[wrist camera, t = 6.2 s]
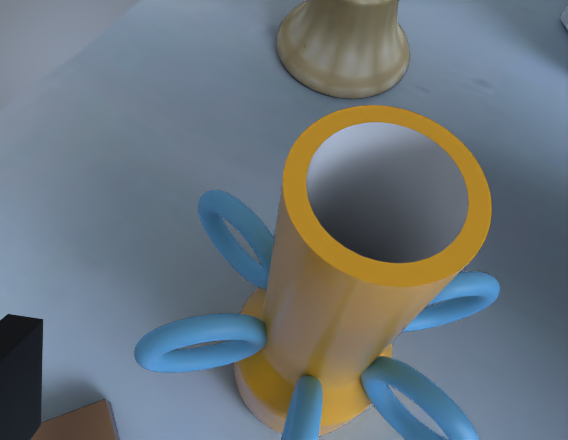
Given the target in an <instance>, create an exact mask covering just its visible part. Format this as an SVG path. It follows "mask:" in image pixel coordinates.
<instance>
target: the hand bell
mask: <svg viewBox="0 0 568 440" xmlns="http://www.w3.org/2000/svg"><path fill="white" fill-rule="evenodd" d="M398 1H399V0H307V1H305V2H303V3H301V4H300V5H298V6H297V7H295V8H294V9H293V10H292V11H291V12H290V13H289V14H288V15H287V16H286V17H285V19H284V20H283V21H282V23H281V25H280V27H279V29H278V32H277V38H276V44H277V51H278V54H279V57H280V59H281V61H282V63H283V64H284V66H285V67H286V69H287V70H288V71H289V72H290V74H291V75H292V76H294V77H295V78H296V79H297V80H298V81H299V82H301V83H302V84H304V85H305V86H307V87H309V88H311V89H313V90H315V91H317V92H320V93H323V94H326V95H329V96H333V97H338V98H349V99H355V98H356V99H359V98H366V97H371V96H375V95H377V94H380V93H383V92H385V91H387V90H389V89H390V88H392V87H393V86H394V85H396V84H397V83H398V82H399V81H400V80H401V78H402V77H403V76H404V74H405V72H406V70H407V67H408V64H409V59H410V52H409V45H408V41H407V38H406V35H405V33H404V31H403V29H402V28H401V26H400V25H399V24H398V22H397V9H398Z"/></svg>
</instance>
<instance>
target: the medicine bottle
mask: <svg viewBox="0 0 568 440" xmlns="http://www.w3.org/2000/svg"><path fill="white" fill-rule="evenodd" d="M560 18H561V21H562V22H563V24H564V26H565V27H566V29H567V31H568V6H567V7H566V8H565V10H564V11H563V13H562V15H561V17H560Z"/></svg>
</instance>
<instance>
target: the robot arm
mask: <svg viewBox="0 0 568 440" xmlns="http://www.w3.org/2000/svg"><path fill="white" fill-rule="evenodd" d="M42 346H43V319H37V318H31V317H24V316H18V315H11V314H7V315H6V316H5V317H4V318H3V319H1V320H0V440H31V438H32V437H33V436H34V434H35V433H36V432H37V430H38V429H39V427H40V426H41V391H42Z"/></svg>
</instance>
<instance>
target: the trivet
mask: <svg viewBox="0 0 568 440" xmlns="http://www.w3.org/2000/svg"><path fill="white" fill-rule="evenodd" d="M31 440H120V439H119V435H118V431H117V427H116V422H115V418H114V414H113V410H112V406H111V403H110V402H109V401H107V400H106V399H103V400H100V401H98V402H95V403H92V404H90V405H87V406H84V407H82V408H79V409H76V410H74V411H71V412H68V413H66V414H63V415H60V416H58V417H55V418H52V419H50V420H47V421H44V422H42V423H41V426H40V427H39V429H38V430H37V432H36V433H35V434H34V436H33V437H32V438H31Z"/></svg>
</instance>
